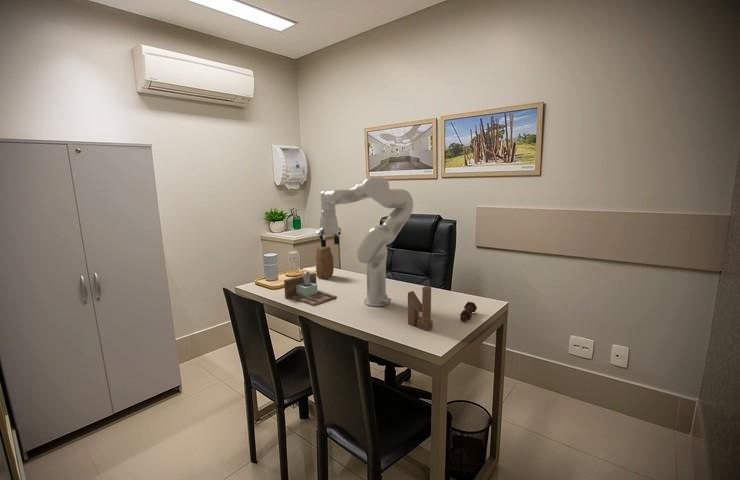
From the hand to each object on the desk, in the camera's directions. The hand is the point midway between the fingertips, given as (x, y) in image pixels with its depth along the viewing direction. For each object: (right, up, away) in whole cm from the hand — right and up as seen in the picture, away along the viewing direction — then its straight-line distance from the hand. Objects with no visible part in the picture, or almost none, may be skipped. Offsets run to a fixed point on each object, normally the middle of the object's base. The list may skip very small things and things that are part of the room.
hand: (330, 245), depth 194 cm
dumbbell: (+65, -32, -33) cm, 80 cm away
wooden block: (+43, -34, -42) cm, 69 cm away
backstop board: (-10, -28, -1) cm, 30 cm away
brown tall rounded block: (-7, -21, +39) cm, 45 cm away
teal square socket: (-13, -26, 0) cm, 29 cm away
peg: (-12, -26, 0) cm, 29 cm away
